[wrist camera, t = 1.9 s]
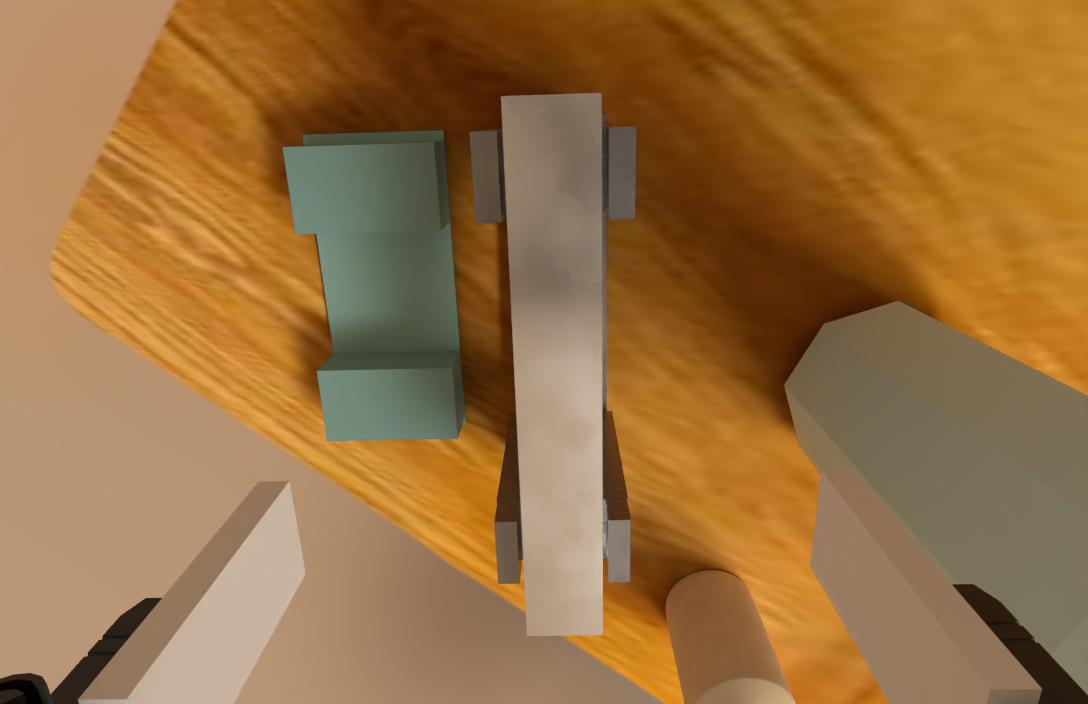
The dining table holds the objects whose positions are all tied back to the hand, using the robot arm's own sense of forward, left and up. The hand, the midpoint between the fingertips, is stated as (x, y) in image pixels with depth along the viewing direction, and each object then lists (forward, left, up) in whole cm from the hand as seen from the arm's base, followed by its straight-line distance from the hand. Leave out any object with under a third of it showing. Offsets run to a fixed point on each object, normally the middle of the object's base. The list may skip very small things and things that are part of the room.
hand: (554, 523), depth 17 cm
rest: (-1, -9, -21) cm, 22 cm away
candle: (+20, +9, -21) cm, 30 cm away
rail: (0, 0, -11) cm, 11 cm away
